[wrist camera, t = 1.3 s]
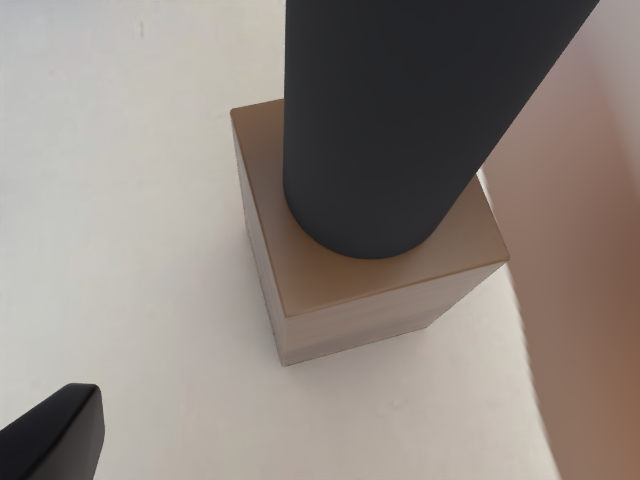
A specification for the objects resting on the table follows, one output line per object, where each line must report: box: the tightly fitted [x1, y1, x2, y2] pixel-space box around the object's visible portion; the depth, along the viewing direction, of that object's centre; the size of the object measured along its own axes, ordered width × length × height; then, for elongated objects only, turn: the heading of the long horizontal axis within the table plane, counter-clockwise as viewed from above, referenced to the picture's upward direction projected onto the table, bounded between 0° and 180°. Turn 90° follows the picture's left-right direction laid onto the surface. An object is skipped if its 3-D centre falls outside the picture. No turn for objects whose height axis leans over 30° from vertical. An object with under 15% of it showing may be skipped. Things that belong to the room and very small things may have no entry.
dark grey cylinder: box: [283, 0, 600, 259], centre depth 11 cm, size 4×4×9 cm
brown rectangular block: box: [230, 99, 510, 367], centre depth 19 cm, size 6×6×9 cm
